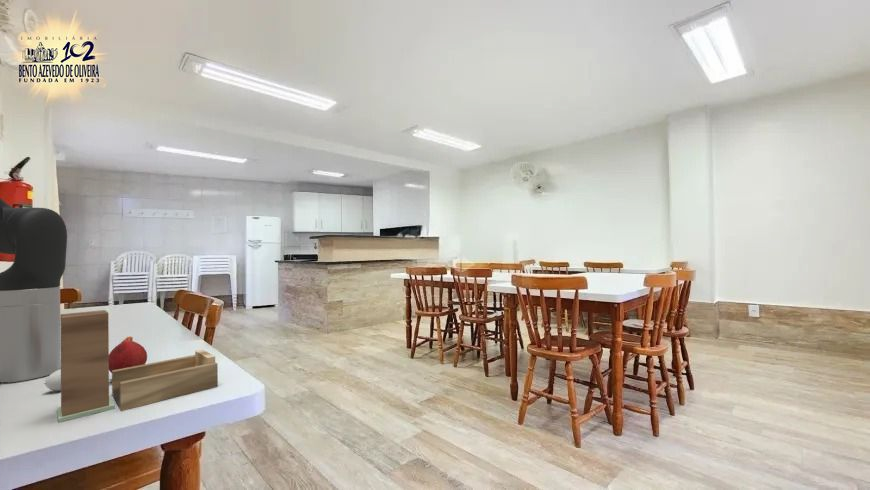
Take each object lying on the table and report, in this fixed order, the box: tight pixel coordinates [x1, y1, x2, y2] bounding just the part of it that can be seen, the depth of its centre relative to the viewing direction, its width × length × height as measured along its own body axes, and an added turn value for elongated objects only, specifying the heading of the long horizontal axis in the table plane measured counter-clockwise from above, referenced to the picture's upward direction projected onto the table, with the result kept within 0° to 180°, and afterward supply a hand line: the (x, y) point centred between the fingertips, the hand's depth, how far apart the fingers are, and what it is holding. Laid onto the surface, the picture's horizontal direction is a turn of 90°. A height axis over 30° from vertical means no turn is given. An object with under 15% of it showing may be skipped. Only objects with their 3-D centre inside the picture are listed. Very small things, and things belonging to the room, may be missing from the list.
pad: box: [56, 394, 116, 423], centre depth 56 cm, size 6×6×1 cm
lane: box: [111, 349, 219, 412], centre depth 63 cm, size 10×13×5 cm
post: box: [60, 309, 110, 417], centre depth 56 cm, size 5×5×14 cm
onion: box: [109, 335, 148, 374], centre depth 70 cm, size 6×6×8 cm
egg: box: [43, 368, 61, 392], centre depth 65 cm, size 4×6×4 cm, turn 151°
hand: (1, 212), depth 55 cm, fingers open, 8 cm apart
